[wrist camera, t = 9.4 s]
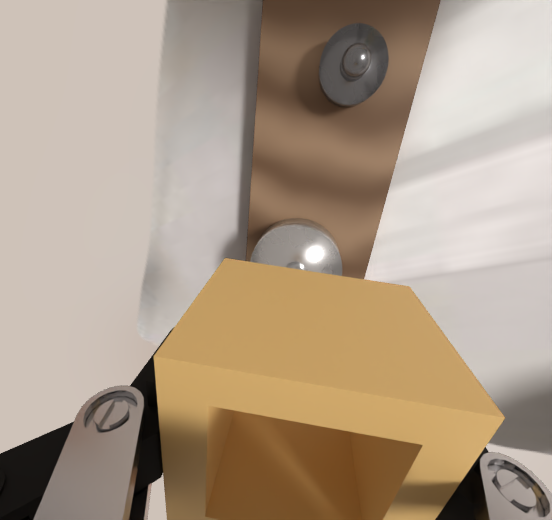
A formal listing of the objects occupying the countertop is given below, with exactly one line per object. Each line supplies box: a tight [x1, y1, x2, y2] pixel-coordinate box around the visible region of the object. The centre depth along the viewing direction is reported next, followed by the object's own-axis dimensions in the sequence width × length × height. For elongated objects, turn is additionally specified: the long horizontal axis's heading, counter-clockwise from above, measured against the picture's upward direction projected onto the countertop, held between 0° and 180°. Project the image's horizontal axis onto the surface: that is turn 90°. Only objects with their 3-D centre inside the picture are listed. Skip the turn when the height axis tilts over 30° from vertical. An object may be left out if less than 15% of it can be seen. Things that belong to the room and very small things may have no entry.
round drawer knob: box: [319, 23, 389, 107], centre depth 20 cm, size 5×5×4 cm
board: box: [246, 0, 440, 279], centre depth 26 cm, size 29×13×2 cm, turn 174°
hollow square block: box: [154, 258, 505, 520], centre depth 8 cm, size 6×6×4 cm
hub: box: [250, 218, 342, 276], centre depth 26 cm, size 9×9×6 cm
